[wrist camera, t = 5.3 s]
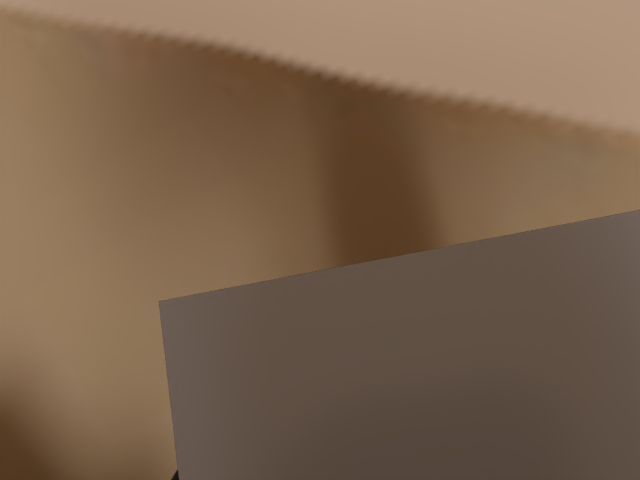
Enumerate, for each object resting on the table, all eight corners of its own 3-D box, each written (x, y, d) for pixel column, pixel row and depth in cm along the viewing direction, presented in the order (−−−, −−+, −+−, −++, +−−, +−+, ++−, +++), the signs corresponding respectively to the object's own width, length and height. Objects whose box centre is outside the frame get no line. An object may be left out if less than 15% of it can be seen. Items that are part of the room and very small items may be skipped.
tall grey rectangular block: (538, 493, 15) (875, 843, 4) (345, 522, 16) (227, 900, 5) (494, 300, 16) (680, 201, 5) (313, 332, 17) (158, 301, 6)
